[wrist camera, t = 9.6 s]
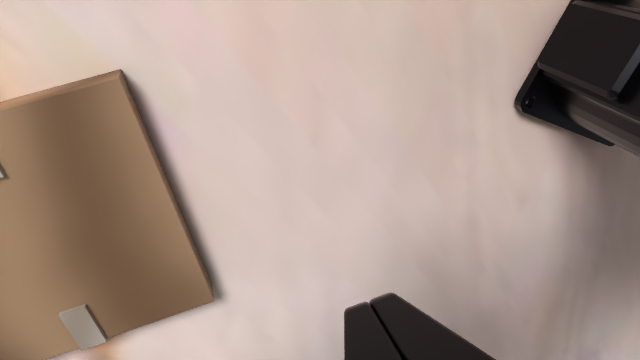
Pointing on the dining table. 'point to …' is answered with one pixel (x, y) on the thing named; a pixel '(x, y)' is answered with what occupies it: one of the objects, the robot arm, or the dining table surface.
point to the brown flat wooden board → (86, 223)
